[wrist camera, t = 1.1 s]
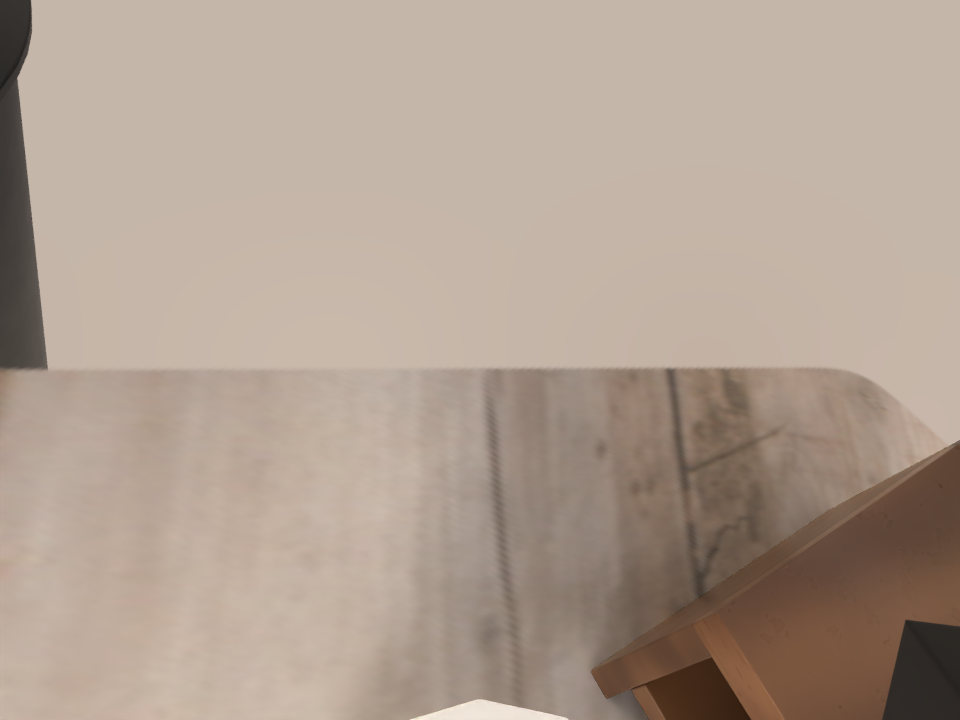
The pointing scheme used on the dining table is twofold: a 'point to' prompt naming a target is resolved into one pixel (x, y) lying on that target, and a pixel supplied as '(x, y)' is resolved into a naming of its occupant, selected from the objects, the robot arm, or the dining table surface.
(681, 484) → the dining table surface
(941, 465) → the shelf
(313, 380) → the dining table surface
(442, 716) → the foam cup
